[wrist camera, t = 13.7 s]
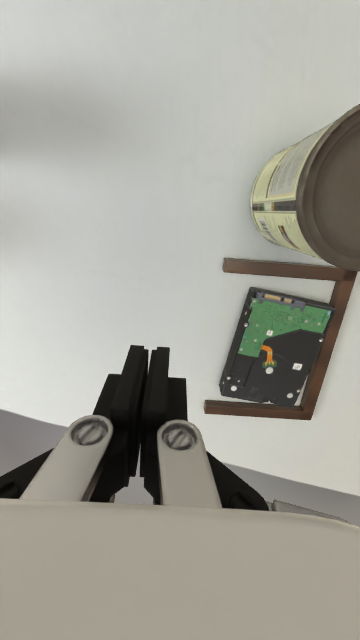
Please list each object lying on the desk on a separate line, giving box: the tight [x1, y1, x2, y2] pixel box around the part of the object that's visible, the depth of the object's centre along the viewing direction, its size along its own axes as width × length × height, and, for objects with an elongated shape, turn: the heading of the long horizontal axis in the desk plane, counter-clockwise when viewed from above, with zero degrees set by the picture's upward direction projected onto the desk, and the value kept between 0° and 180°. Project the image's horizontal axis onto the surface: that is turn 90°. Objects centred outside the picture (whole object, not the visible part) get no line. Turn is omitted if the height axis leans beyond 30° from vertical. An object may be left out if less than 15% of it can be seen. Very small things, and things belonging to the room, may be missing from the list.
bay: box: [204, 258, 358, 420], centre depth 37 cm, size 22×16×1 cm
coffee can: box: [250, 104, 360, 271], centre depth 24 cm, size 10×10×14 cm
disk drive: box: [219, 287, 336, 408], centre depth 36 cm, size 10×3×15 cm
